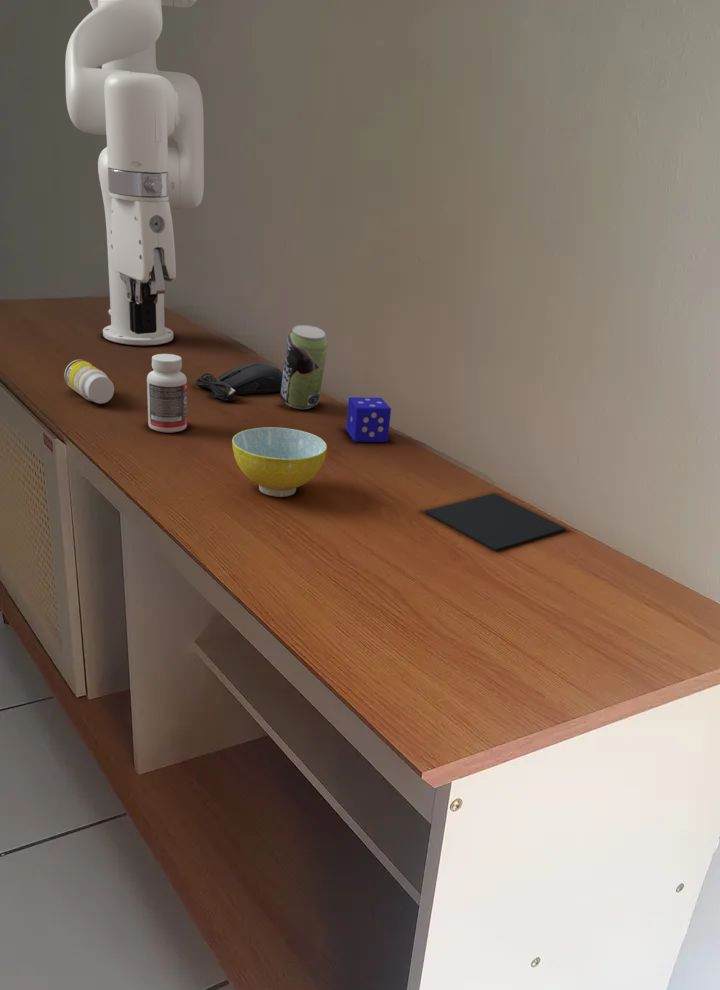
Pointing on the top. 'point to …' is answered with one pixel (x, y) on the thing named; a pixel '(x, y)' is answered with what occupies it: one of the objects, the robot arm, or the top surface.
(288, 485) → the bowl
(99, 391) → the supplement bottle
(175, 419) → the pill bottle
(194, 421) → the top surface
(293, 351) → the beverage can
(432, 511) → the mat
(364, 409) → the die
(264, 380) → the computer mouse
